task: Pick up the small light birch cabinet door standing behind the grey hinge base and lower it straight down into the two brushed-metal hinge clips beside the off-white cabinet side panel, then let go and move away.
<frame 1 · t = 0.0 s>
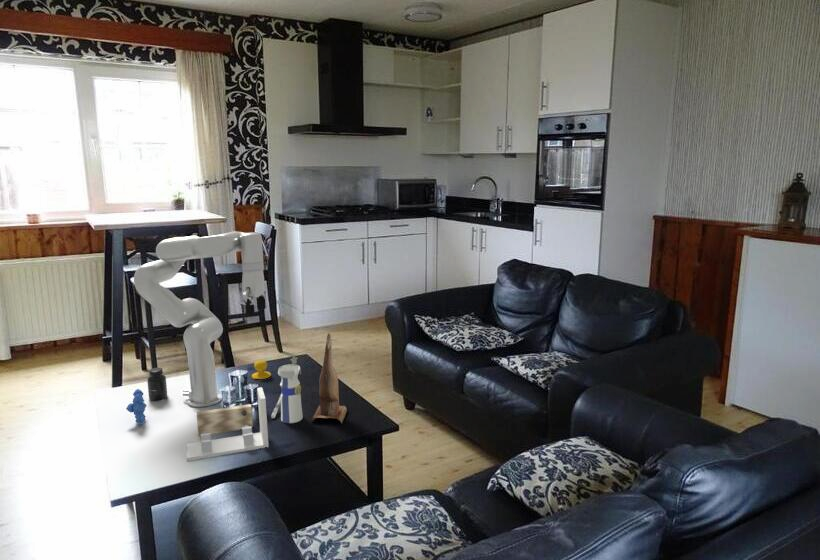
hand: (256, 311, 218), 37 cm above the table, tool pointing down, fingers open, 9 cm apart
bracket: (282, 406, 224), on the table
hinge base: (227, 446, 192), on the table
door: (225, 430, 204), on the table
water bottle: (292, 418, 213), on the table
doorknob: (261, 377, 255), on the table
supplement bottle: (158, 398, 233), on the table
grapes: (138, 422, 211), on the table
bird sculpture: (329, 417, 213), on the table
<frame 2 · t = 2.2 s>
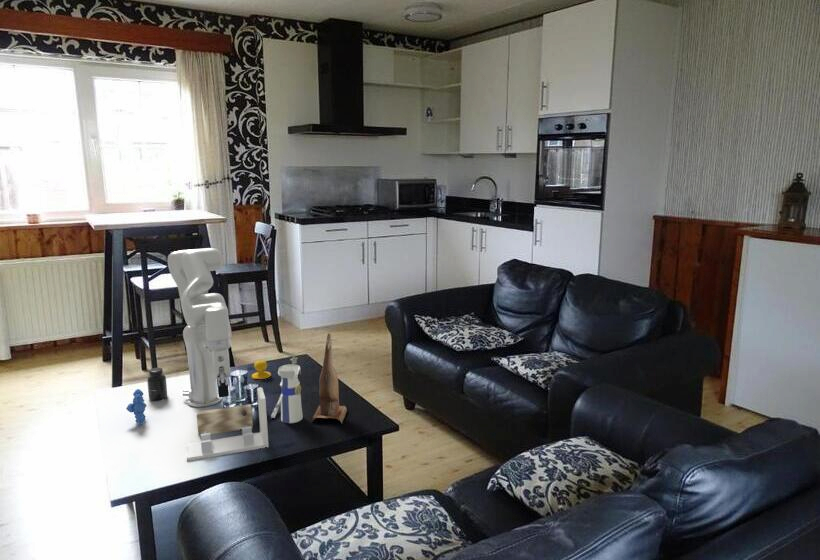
hand: (223, 391, 201), 14 cm above the table, tool pointing down, fingers open, 9 cm apart
nothing on the table moved.
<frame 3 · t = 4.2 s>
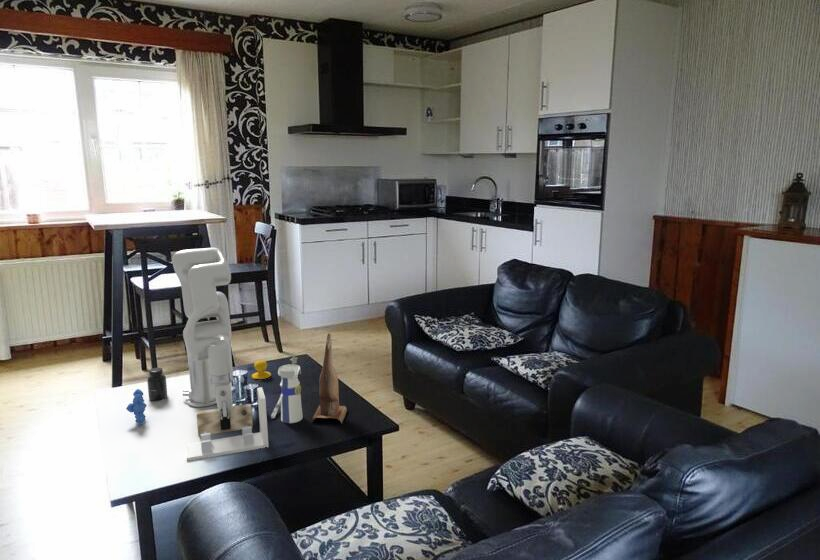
hand: (225, 427, 204), 1 cm above the table, tool pointing down, fingers closed on door, 2 cm apart
door: (225, 430, 204), on the table, touching gripper
everything else where it was.
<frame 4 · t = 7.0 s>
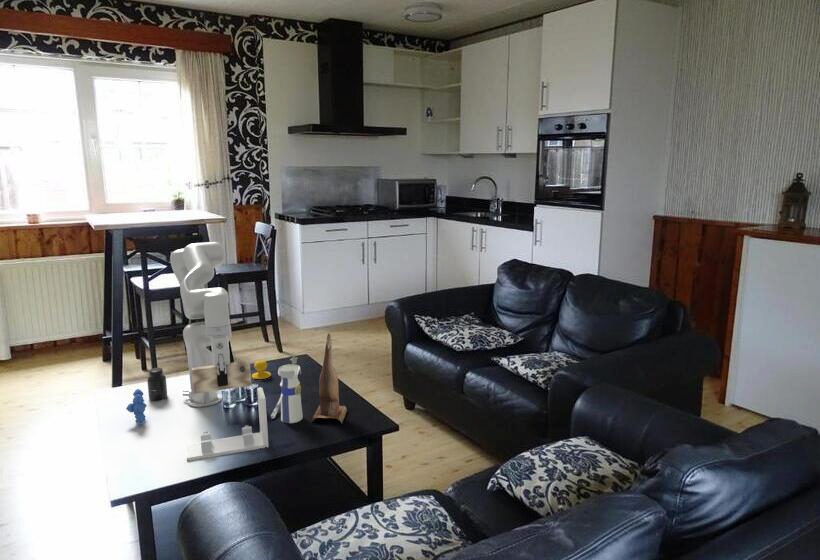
hand: (222, 383, 193), 20 cm above the table, tool pointing down, fingers closed on door, 2 cm apart
door: (223, 388, 193), point 18 cm above the table, touching gripper
everything else where it was.
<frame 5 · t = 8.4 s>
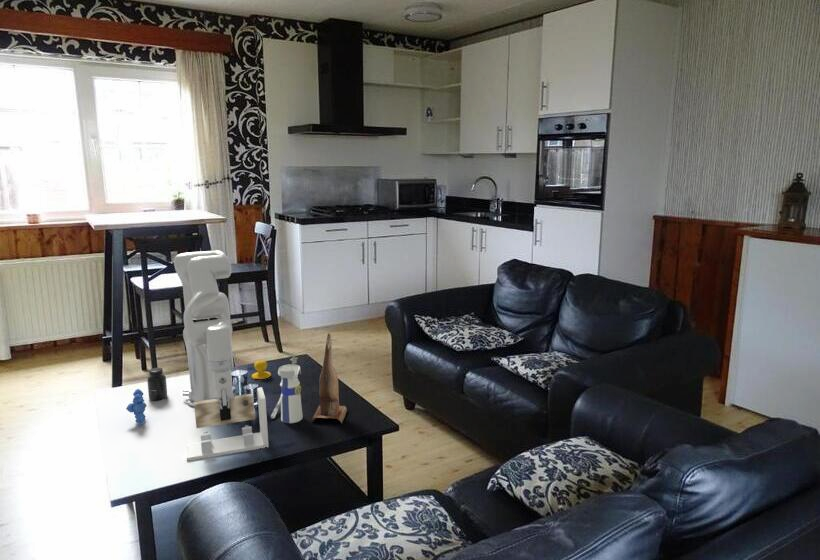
hand: (225, 417, 190), 10 cm above the table, tool pointing down, fingers closed on door, 2 cm apart
door: (226, 422, 190), point 9 cm above the table, touching gripper
everything else where it was.
when the fingers open (3 cm above the table, at t = 9.9 s): door stays where it is, resting on hinge base.
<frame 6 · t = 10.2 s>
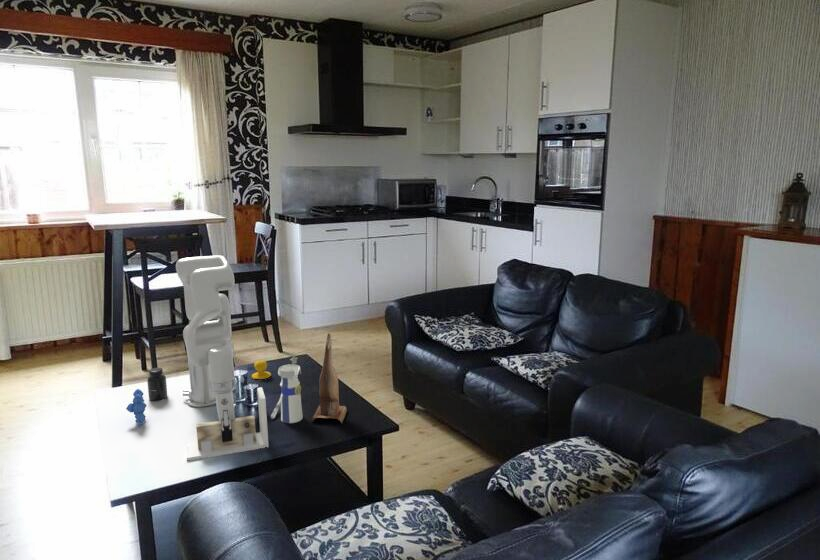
hand: (227, 436, 191), 4 cm above the table, tool pointing down, fingers open, 5 cm apart
door: (227, 443, 192), point 1 cm above the table, touching hinge base
everything else where it was.
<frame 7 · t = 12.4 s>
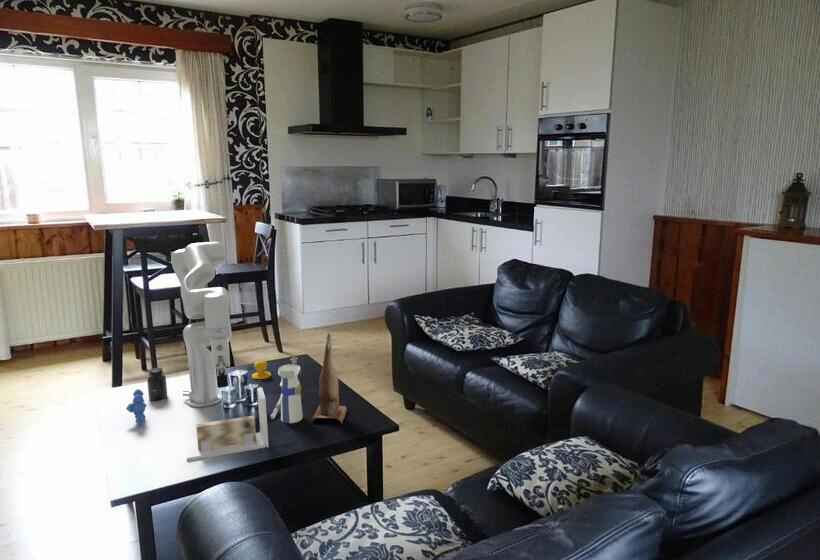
hand: (222, 381, 192), 21 cm above the table, tool pointing down, fingers open, 9 cm apart
nothing on the table moved.
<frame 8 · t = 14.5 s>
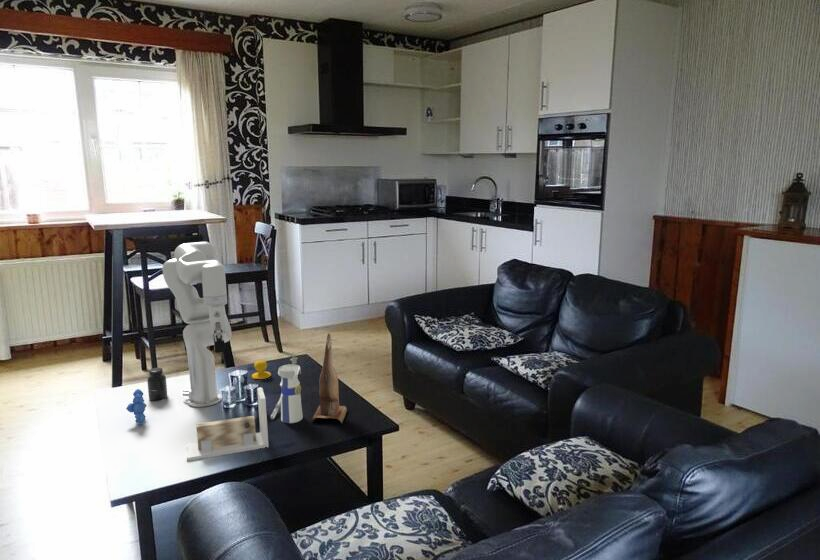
hand: (219, 347, 203), 28 cm above the table, tool pointing down, fingers open, 9 cm apart
nothing on the table moved.
at the end: door 0.1 cm off-centre on the hinge base, point 1.0 cm above the hinge base's base; door tilted 0°; the gripper is holding nothing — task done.
